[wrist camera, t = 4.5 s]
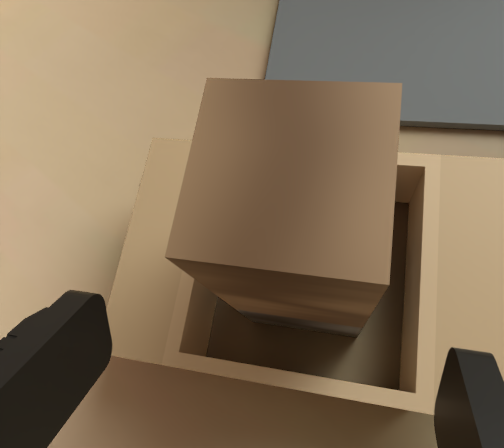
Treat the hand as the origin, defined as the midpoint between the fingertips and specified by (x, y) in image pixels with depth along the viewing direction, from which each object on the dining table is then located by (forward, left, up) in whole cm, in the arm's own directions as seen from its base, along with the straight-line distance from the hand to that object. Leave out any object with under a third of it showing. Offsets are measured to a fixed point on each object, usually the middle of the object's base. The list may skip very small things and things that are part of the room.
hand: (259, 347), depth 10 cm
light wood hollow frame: (0, -4, -11) cm, 12 cm away
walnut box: (0, -4, -11) cm, 12 cm away
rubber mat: (-3, -19, -11) cm, 22 cm away
